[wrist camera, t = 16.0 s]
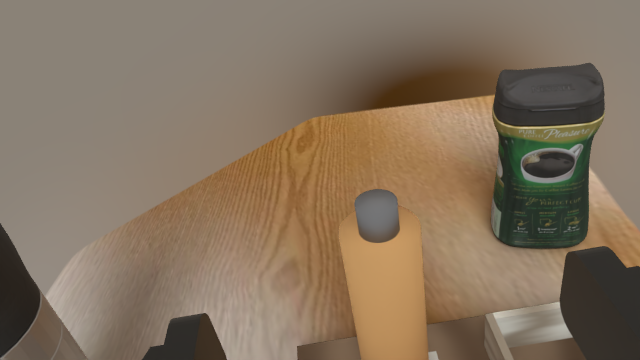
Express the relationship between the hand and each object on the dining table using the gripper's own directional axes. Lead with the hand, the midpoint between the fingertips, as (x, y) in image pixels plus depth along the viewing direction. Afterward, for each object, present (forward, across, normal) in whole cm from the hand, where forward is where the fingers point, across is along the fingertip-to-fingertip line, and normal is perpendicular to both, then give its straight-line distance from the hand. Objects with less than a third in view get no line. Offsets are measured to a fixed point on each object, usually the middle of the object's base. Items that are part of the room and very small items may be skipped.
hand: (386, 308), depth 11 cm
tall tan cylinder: (+15, -1, +28) cm, 32 cm away
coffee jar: (+34, -20, +30) cm, 49 cm away
